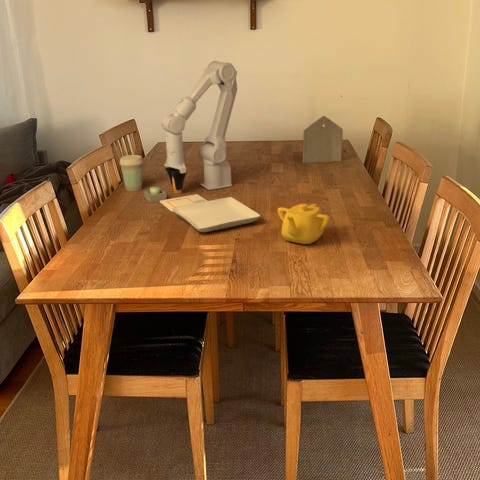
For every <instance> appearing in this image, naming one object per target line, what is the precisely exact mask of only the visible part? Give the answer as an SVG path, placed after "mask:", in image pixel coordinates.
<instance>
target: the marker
mask: <svg viewBox="0 0 480 480" xmlns="http://www.w3.org/2000/svg"><path fill="white" fill-rule="evenodd" d="M172 180H173V187H172V190H173V191H172V193H173V195H174V196H175V195H176V196H178V195H182V194H183V188H182V189H181V190H176V188H175V183H174V179H173V176H172Z"/></svg>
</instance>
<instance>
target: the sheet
mask: <svg viewBox="0 0 480 480" xmlns="http://www.w3.org/2000/svg"><path fill="white" fill-rule="evenodd" d="M206 201H208V200H207V199H205V198H204V197H202V196H201V195H199V193H198V194H197V193H196V194H190V195H186V196H184V195H183V196H180V197H179V196H178V197H174V198H168V199H167V200H161V201H159V203H160V204H161V205H163V206H164V207H165V208H167V209H168V210H169V211H170V212H172V213H175V212H174V211H173V208H176V207H181V206H186V205H191V204H196V203H201V202H206Z"/></svg>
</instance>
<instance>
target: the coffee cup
mask: <svg viewBox="0 0 480 480" xmlns="http://www.w3.org/2000/svg"><path fill="white" fill-rule="evenodd" d="M143 164H144V160H143V157H142V156H141V155H138V154H128V155H123V156H121V157H120V159H119V165H120V169H121V174H122V178H123V183H124V187H125V191H126V192H132V193H133V192H140V191H142V189H143Z"/></svg>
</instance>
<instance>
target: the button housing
mask: <svg viewBox="0 0 480 480" xmlns="http://www.w3.org/2000/svg"><path fill="white" fill-rule="evenodd" d="M143 195H144V199H145V200H147V202H148V203H156V202H160V201H161V200H167V198H168V196H167V192H165V191H164V190H163V189H161V188H160V193H159V194H153V195H151V194H150V189H149V190H143Z"/></svg>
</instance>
